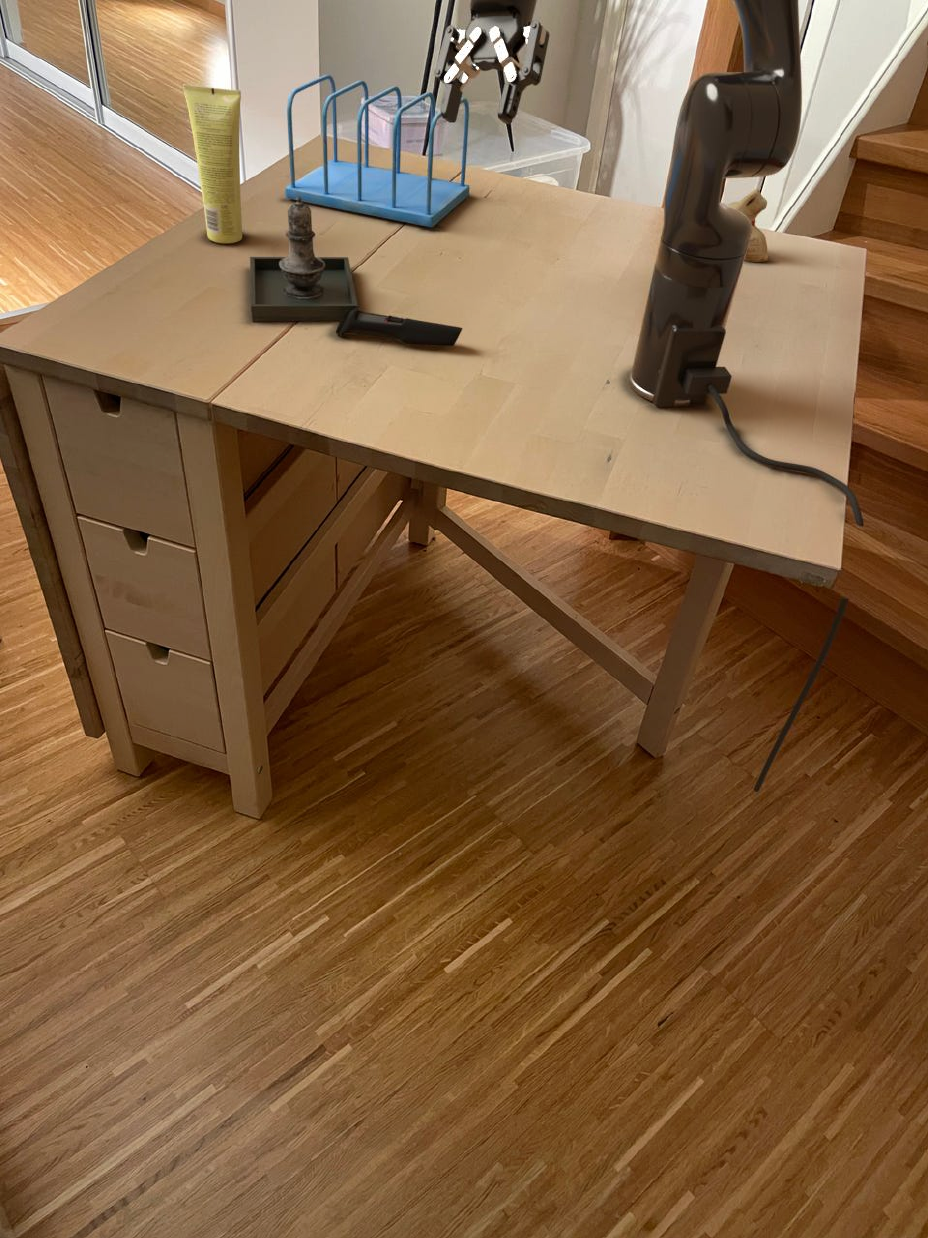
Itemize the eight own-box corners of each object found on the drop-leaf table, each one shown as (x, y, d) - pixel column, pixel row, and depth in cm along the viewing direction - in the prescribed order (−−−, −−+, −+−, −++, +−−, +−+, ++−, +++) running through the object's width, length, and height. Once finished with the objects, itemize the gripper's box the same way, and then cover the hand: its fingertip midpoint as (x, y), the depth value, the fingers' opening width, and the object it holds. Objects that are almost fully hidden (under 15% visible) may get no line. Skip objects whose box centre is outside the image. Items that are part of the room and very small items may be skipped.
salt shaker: (275, 283, 122) (268, 189, 114) (317, 279, 124) (314, 185, 116) (288, 302, 118) (282, 206, 110) (331, 297, 120) (329, 202, 112)
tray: (358, 320, 117) (358, 305, 116) (252, 321, 115) (250, 306, 113) (348, 271, 128) (348, 256, 126) (251, 271, 125) (250, 256, 124)
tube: (235, 228, 136) (221, 79, 122) (253, 240, 133) (240, 89, 120) (200, 235, 133) (182, 83, 120) (217, 247, 130) (201, 93, 117)
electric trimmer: (457, 358, 112) (459, 334, 110) (334, 337, 113) (333, 312, 111) (462, 344, 115) (465, 320, 113) (342, 324, 116) (342, 300, 114)
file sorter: (469, 196, 153) (477, 93, 142) (432, 231, 141) (437, 121, 130) (332, 169, 158) (330, 67, 147) (284, 200, 146) (278, 91, 135)
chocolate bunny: (734, 242, 147) (752, 176, 140) (771, 260, 142) (791, 193, 135) (709, 247, 144) (727, 180, 137) (746, 266, 140) (766, 198, 133)
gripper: (444, -39, 108) (411, 106, 111) (544, -50, 100) (506, 106, 103) (479, -4, 114) (448, 132, 117) (576, -12, 107) (540, 134, 109)
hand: (475, 120), depth 110 cm, fingers open, 8 cm apart
